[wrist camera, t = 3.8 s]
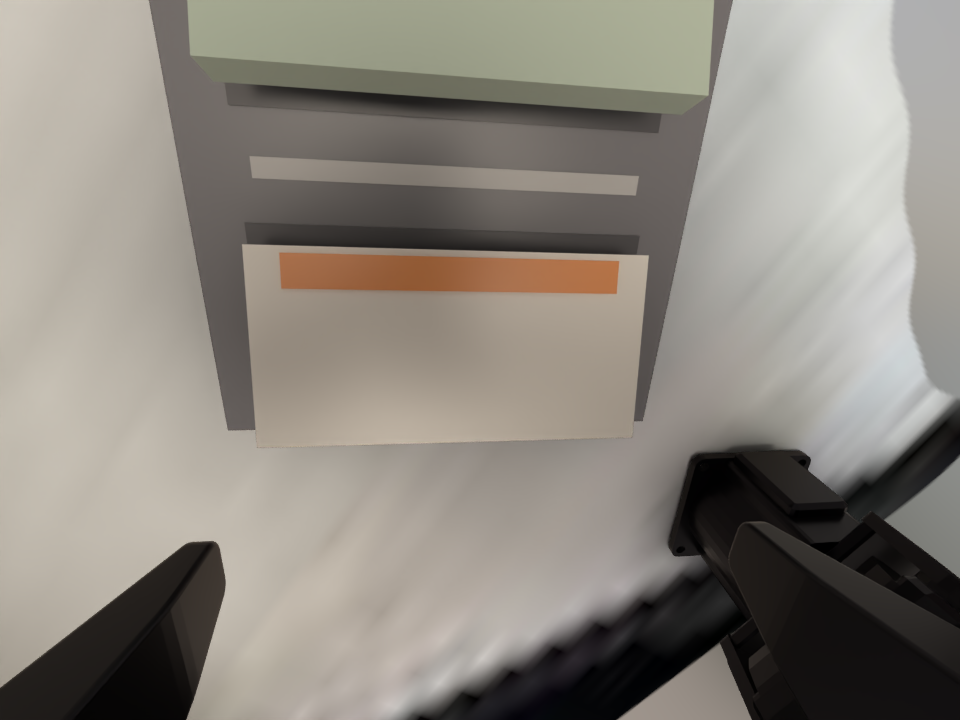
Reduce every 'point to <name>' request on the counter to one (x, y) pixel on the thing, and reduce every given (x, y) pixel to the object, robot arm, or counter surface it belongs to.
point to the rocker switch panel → (417, 182)
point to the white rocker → (441, 345)
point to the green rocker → (466, 49)
